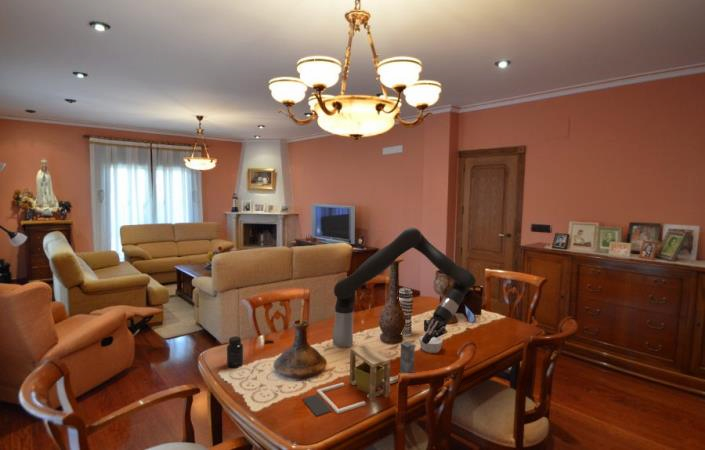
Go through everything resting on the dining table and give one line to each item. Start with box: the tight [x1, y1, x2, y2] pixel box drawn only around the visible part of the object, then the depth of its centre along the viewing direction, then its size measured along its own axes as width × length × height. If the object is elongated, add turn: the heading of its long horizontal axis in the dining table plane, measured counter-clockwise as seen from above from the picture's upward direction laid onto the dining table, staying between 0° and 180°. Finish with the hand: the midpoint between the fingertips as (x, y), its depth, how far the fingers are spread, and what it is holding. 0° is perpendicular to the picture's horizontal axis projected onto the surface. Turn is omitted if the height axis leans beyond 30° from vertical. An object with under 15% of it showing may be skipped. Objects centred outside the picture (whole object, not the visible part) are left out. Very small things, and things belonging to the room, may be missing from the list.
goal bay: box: [316, 382, 366, 415], centre depth 139 cm, size 12×16×1 cm
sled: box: [352, 341, 416, 399], centre depth 150 cm, size 25×12×14 cm, turn 121°
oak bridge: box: [349, 344, 391, 403], centre depth 145 cm, size 8×16×14 cm, turn 31°
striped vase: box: [399, 287, 414, 337], centre depth 204 cm, size 9×9×25 cm
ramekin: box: [419, 334, 443, 354], centre depth 185 cm, size 11×11×5 cm
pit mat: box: [301, 393, 333, 417], centre depth 134 cm, size 6×12×1 cm, turn 31°
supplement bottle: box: [226, 336, 244, 369], centre depth 163 cm, size 7×7×12 cm
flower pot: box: [354, 362, 384, 394], centre depth 145 cm, size 9×9×9 cm
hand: (424, 342), depth 159 cm, fingers closed
